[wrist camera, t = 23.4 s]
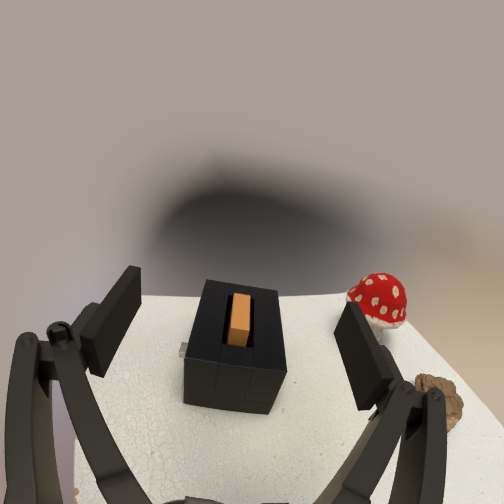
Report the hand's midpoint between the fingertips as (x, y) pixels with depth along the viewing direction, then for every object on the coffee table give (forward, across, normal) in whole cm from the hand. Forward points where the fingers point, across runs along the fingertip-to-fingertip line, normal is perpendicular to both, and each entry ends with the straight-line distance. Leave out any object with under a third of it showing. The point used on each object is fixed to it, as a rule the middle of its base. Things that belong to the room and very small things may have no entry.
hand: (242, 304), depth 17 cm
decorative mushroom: (+28, +29, -24) cm, 47 cm away
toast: (+17, +2, -21) cm, 27 cm away
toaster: (+17, +2, -24) cm, 30 cm away
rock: (+6, +37, -24) cm, 45 cm away
